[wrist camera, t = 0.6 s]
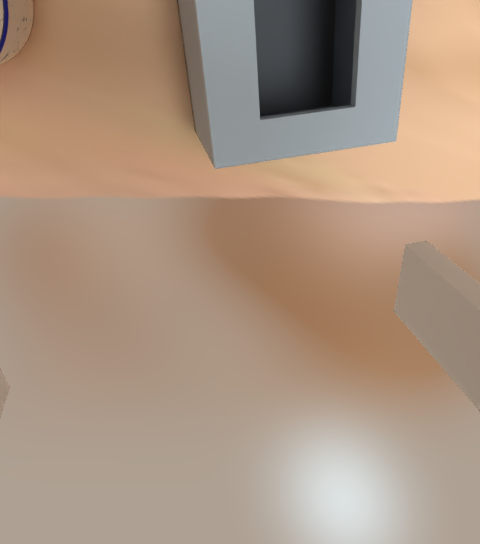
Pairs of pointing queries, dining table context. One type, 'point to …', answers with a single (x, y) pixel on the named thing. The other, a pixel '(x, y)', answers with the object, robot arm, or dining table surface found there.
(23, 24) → the teacup with lid
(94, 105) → the dining table surface
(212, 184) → the dining table surface
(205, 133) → the grey box with opening
